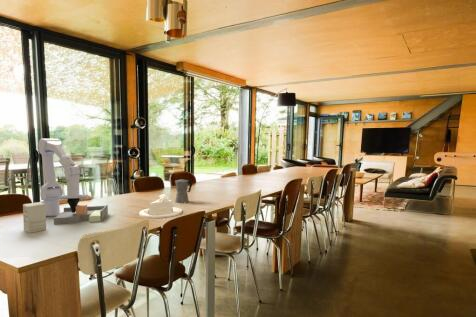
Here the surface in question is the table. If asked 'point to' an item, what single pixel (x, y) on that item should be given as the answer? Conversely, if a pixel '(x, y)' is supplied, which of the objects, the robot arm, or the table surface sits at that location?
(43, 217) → the supplement box
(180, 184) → the coffeepot
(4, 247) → the table surface
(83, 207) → the block
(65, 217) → the board
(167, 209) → the dish
